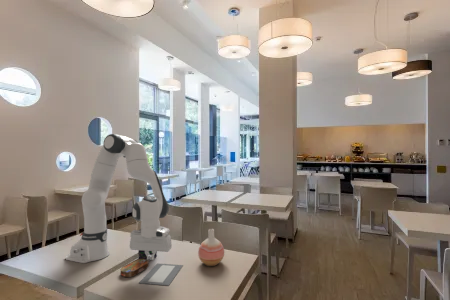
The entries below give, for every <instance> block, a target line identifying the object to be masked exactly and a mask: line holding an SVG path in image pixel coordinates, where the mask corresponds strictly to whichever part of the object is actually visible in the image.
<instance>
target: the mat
mask: <svg viewBox="0 0 450 300" xmlns="http://www.w3.org/2000/svg"><path fill="white" fill-rule="evenodd" d="M183 267H184V265H183V264H171V263H169V264H168V263H159V262H158V263H156V264H155V265H154V266H153V267H152V268H151V269H150V270H148V271H149V272H147V274H145V276H143V278H141V280H140V281H139V282H138V284H142V285H151V286H152V285H153V286H165V287H169V286H170V285H171V283H172V282H173V280H174V279H175V278H176V276H177V275H178V273H179V272H180V271H181V269H182V268H183Z"/></svg>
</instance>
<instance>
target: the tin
mask: <svg viewBox="0 0 450 300" xmlns="http://www.w3.org/2000/svg"><path fill="white" fill-rule="evenodd" d="M149 262H150V260H147V259H139V258H138V259H134V260H133V261H131V262H129V263H127V264H125V265H123V266H122V267H121V268H120V276H121V277H124V278H131V277H134V276H137V275H138V274H140V273H141V272H143V271H144V270H146V269H147V268H148V267H149Z"/></svg>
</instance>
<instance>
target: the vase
mask: <svg viewBox="0 0 450 300" xmlns="http://www.w3.org/2000/svg"><path fill="white" fill-rule="evenodd" d="M207 232H208V233H207V234H208V235H207V236H208V237H206V238H205V240H204V241H202V242H201V244H200V245H199V248H198V252H197V254H198V255H197V256H198V258H199V260H200V261H201V262H202V264H204V265H205V266H207V267H215V266H217V265H219V263H221V262H222V261H223V259H224V257H225V249H224V248H225V247H224V245H223V244H222V242H221V241H220V240H218V239H217V238H216V237H215V229H214V228H209V229H208V231H207Z"/></svg>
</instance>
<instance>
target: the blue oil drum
mask: <svg viewBox="0 0 450 300" xmlns="http://www.w3.org/2000/svg"><path fill="white" fill-rule="evenodd" d="M139 230H141V228H140V229H139ZM137 252H138V253H137V254H138V259H147V256H146V254H145V251H143V250H137ZM157 253H158V251H156V253H155V255H154V259H156V258H157V256H158V255H157ZM149 254H150V255H152V254H153V253H152V251H149Z"/></svg>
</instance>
